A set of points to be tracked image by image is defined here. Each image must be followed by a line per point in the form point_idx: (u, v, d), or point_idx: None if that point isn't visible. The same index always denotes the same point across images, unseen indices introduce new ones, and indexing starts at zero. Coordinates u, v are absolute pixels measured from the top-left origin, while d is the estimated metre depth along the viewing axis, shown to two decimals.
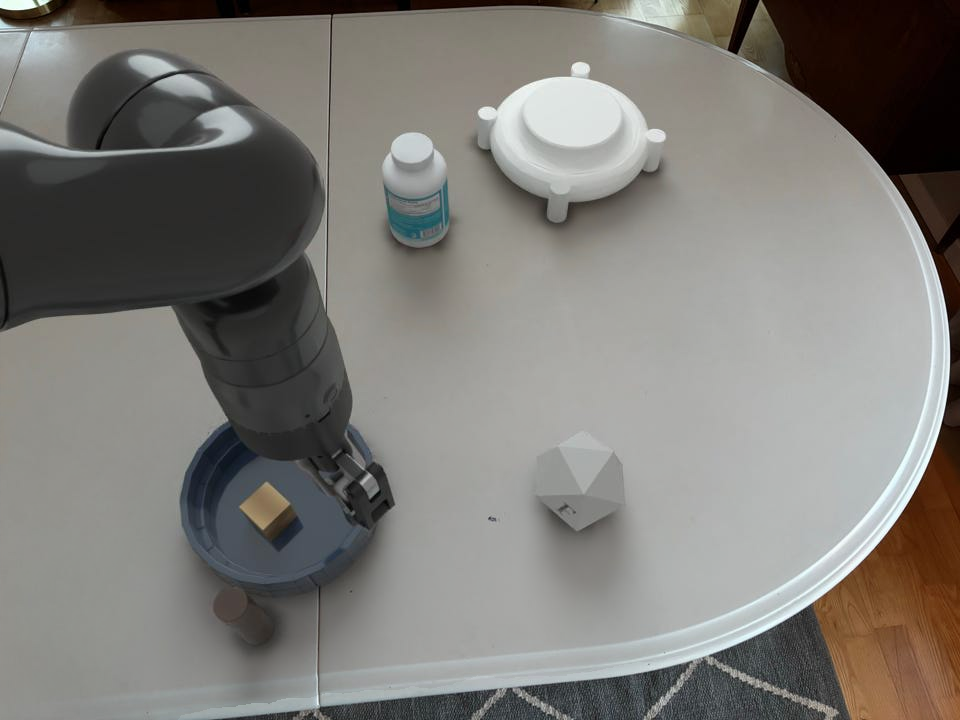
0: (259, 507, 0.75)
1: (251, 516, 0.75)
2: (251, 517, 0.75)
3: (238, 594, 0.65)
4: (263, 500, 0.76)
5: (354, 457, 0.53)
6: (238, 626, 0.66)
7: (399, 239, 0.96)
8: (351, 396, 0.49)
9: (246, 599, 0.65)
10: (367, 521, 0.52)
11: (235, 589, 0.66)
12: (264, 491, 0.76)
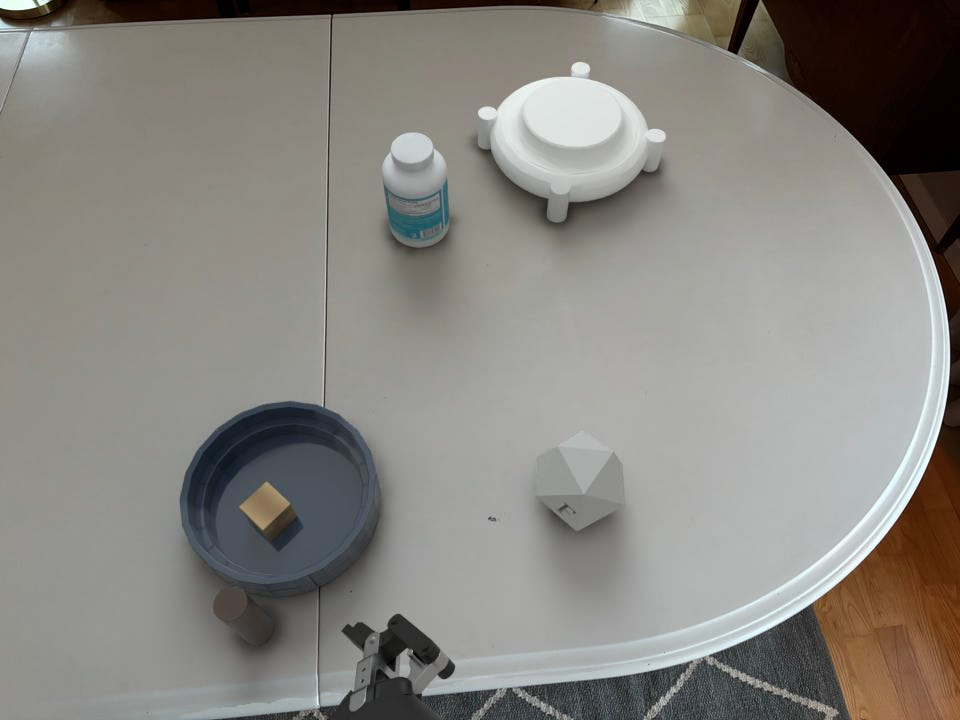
0: (259, 507, 0.75)
1: (251, 516, 0.75)
2: (251, 517, 0.75)
3: (238, 594, 0.65)
4: (263, 500, 0.76)
5: None
6: (238, 626, 0.66)
7: (399, 239, 0.96)
8: None
9: (246, 599, 0.65)
10: None
11: (235, 589, 0.66)
12: (264, 491, 0.76)
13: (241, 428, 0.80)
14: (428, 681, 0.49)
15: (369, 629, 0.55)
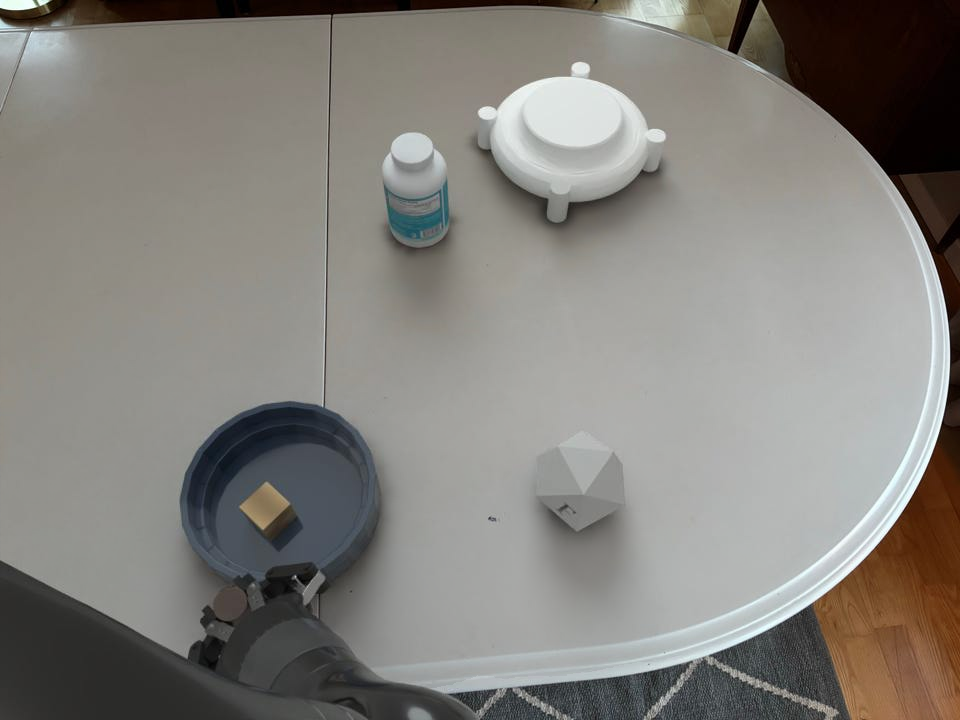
0: (259, 507, 0.75)
1: (251, 516, 0.75)
2: (251, 517, 0.75)
3: (238, 594, 0.65)
4: (263, 500, 0.76)
5: None
6: None
7: (399, 239, 0.96)
8: None
9: (246, 599, 0.65)
10: None
11: (235, 589, 0.66)
12: (264, 491, 0.76)
13: (241, 428, 0.80)
14: (313, 592, 0.62)
15: (253, 579, 0.68)
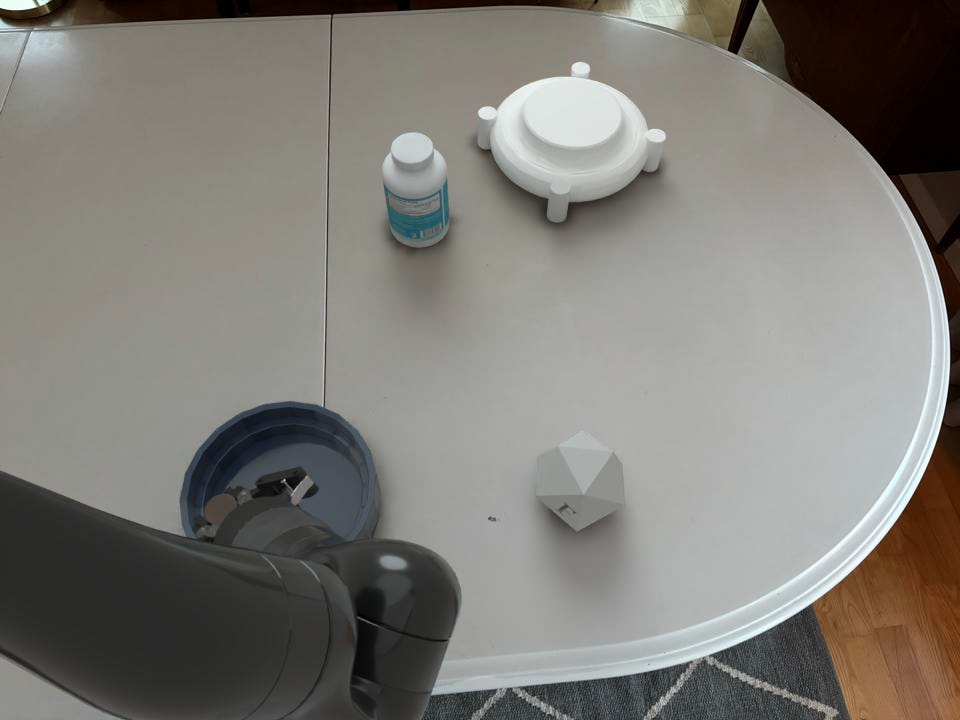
0: None
1: None
2: None
3: (229, 501, 0.67)
4: None
5: None
6: None
7: (399, 239, 0.96)
8: None
9: (236, 505, 0.67)
10: None
11: (226, 496, 0.67)
12: None
13: (241, 428, 0.80)
14: (301, 495, 0.64)
15: (244, 489, 0.69)
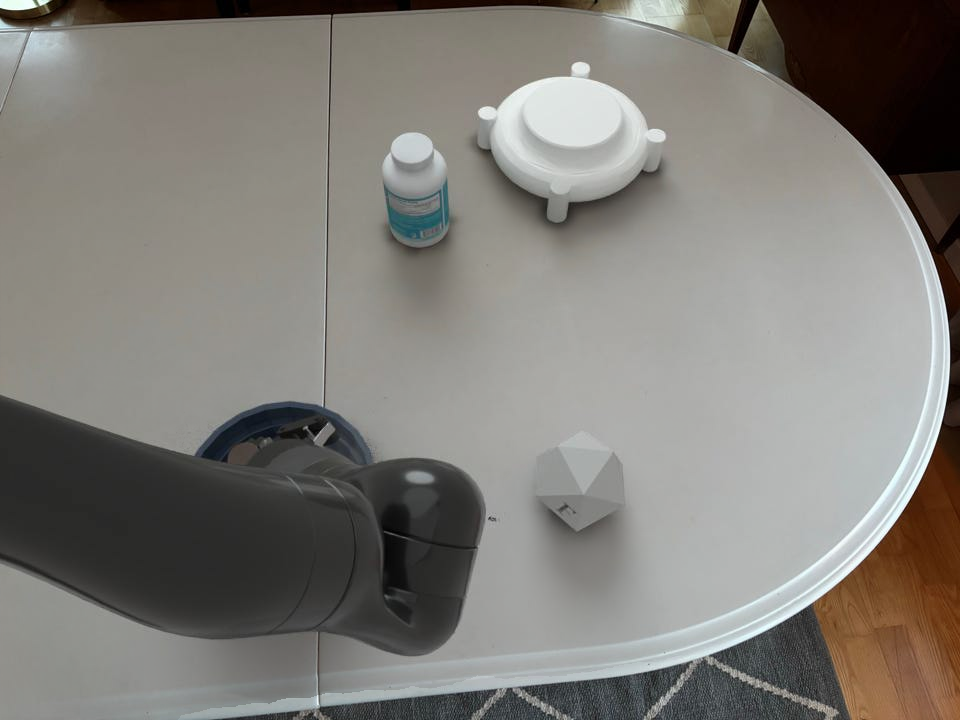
0: None
1: None
2: None
3: (251, 449, 0.68)
4: None
5: None
6: None
7: (399, 239, 0.96)
8: None
9: None
10: None
11: (248, 444, 0.68)
12: None
13: (241, 428, 0.80)
14: (323, 440, 0.65)
15: (265, 439, 0.71)
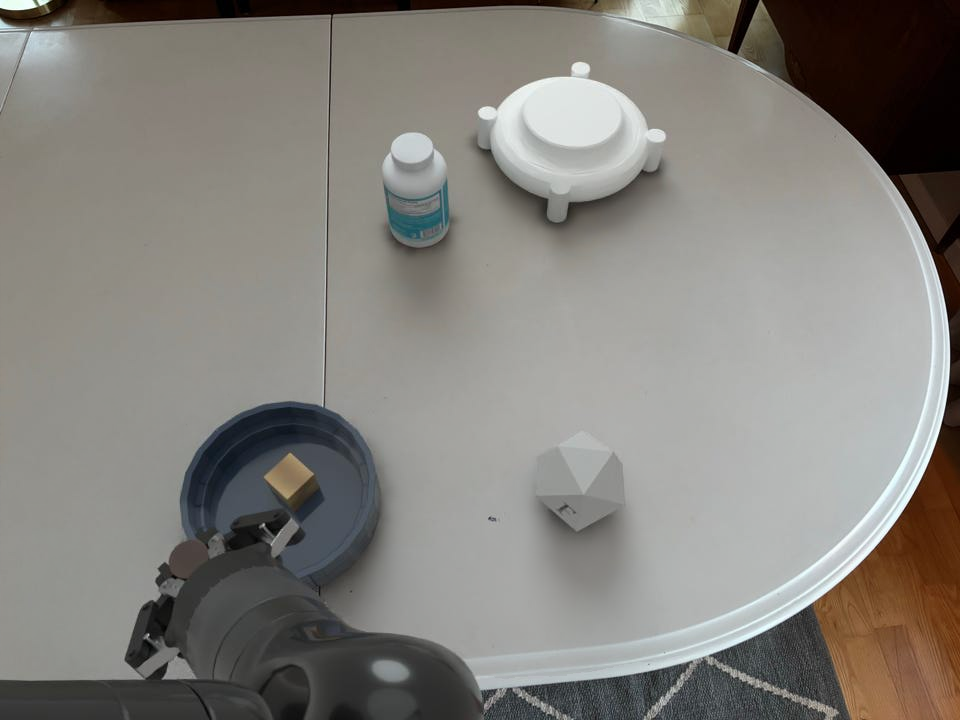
0: (284, 477, 0.77)
1: (275, 486, 0.76)
2: (275, 487, 0.76)
3: (198, 548, 0.56)
4: (287, 470, 0.77)
5: None
6: None
7: (399, 239, 0.96)
8: None
9: (207, 553, 0.56)
10: (136, 624, 0.52)
11: (195, 542, 0.56)
12: (288, 462, 0.78)
13: (241, 428, 0.80)
14: (284, 543, 0.53)
15: (217, 532, 0.58)
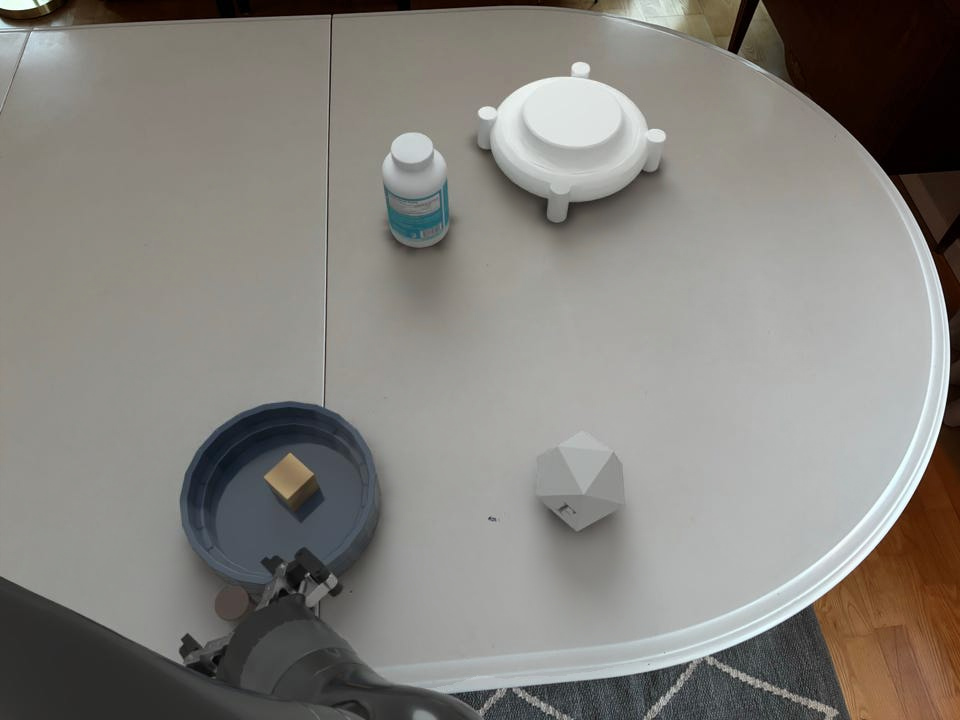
0: (284, 477, 0.77)
1: (275, 486, 0.76)
2: (275, 487, 0.76)
3: (240, 593, 0.65)
4: (287, 470, 0.77)
5: None
6: None
7: (399, 239, 0.96)
8: None
9: (247, 598, 0.65)
10: None
11: (237, 588, 0.66)
12: (288, 462, 0.78)
13: (241, 428, 0.80)
14: (319, 597, 0.61)
15: (282, 560, 0.67)
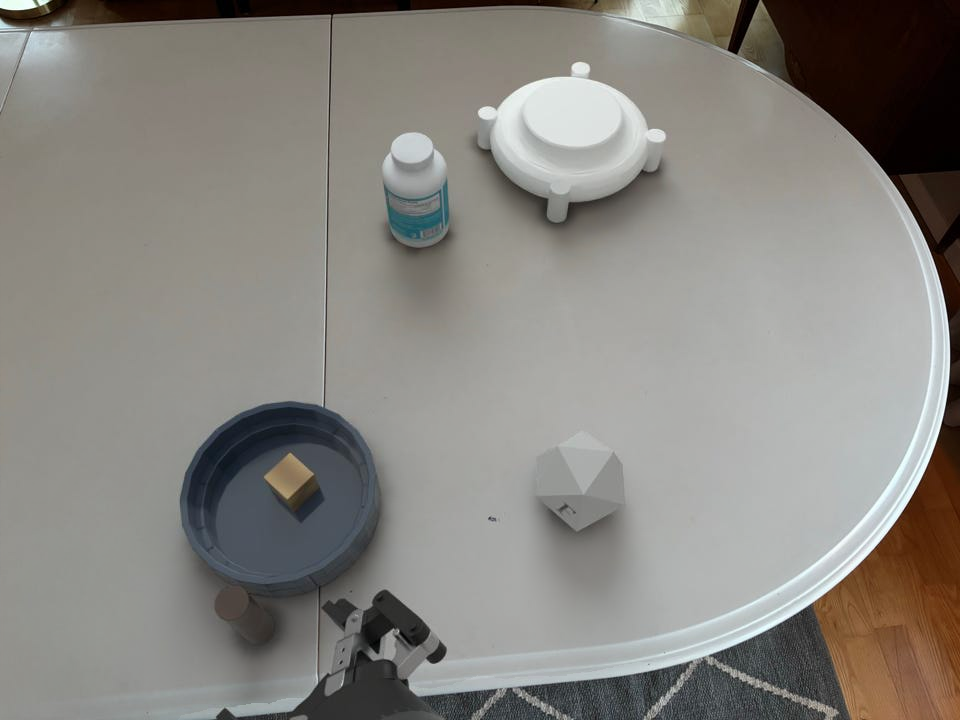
0: (284, 477, 0.77)
1: (275, 486, 0.76)
2: (275, 487, 0.76)
3: (240, 593, 0.65)
4: (287, 470, 0.77)
5: None
6: (239, 625, 0.66)
7: (399, 239, 0.96)
8: None
9: (247, 598, 0.65)
10: None
11: (237, 588, 0.66)
12: (288, 462, 0.78)
13: (241, 428, 0.80)
14: (415, 665, 0.43)
15: (352, 606, 0.49)
